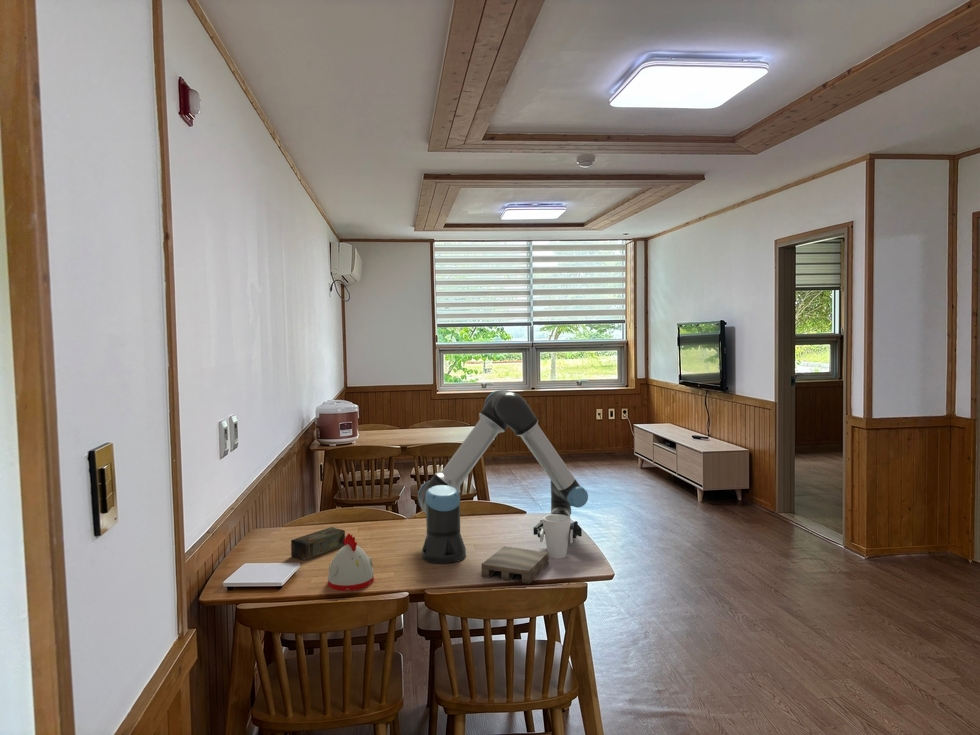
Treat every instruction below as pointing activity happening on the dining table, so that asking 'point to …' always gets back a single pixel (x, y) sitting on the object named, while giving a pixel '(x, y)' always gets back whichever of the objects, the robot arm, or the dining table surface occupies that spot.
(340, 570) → the kitchen timer
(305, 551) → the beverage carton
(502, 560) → the miniature wooden pallet
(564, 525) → the foam cup
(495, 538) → the dining table surface
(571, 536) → the robot arm
